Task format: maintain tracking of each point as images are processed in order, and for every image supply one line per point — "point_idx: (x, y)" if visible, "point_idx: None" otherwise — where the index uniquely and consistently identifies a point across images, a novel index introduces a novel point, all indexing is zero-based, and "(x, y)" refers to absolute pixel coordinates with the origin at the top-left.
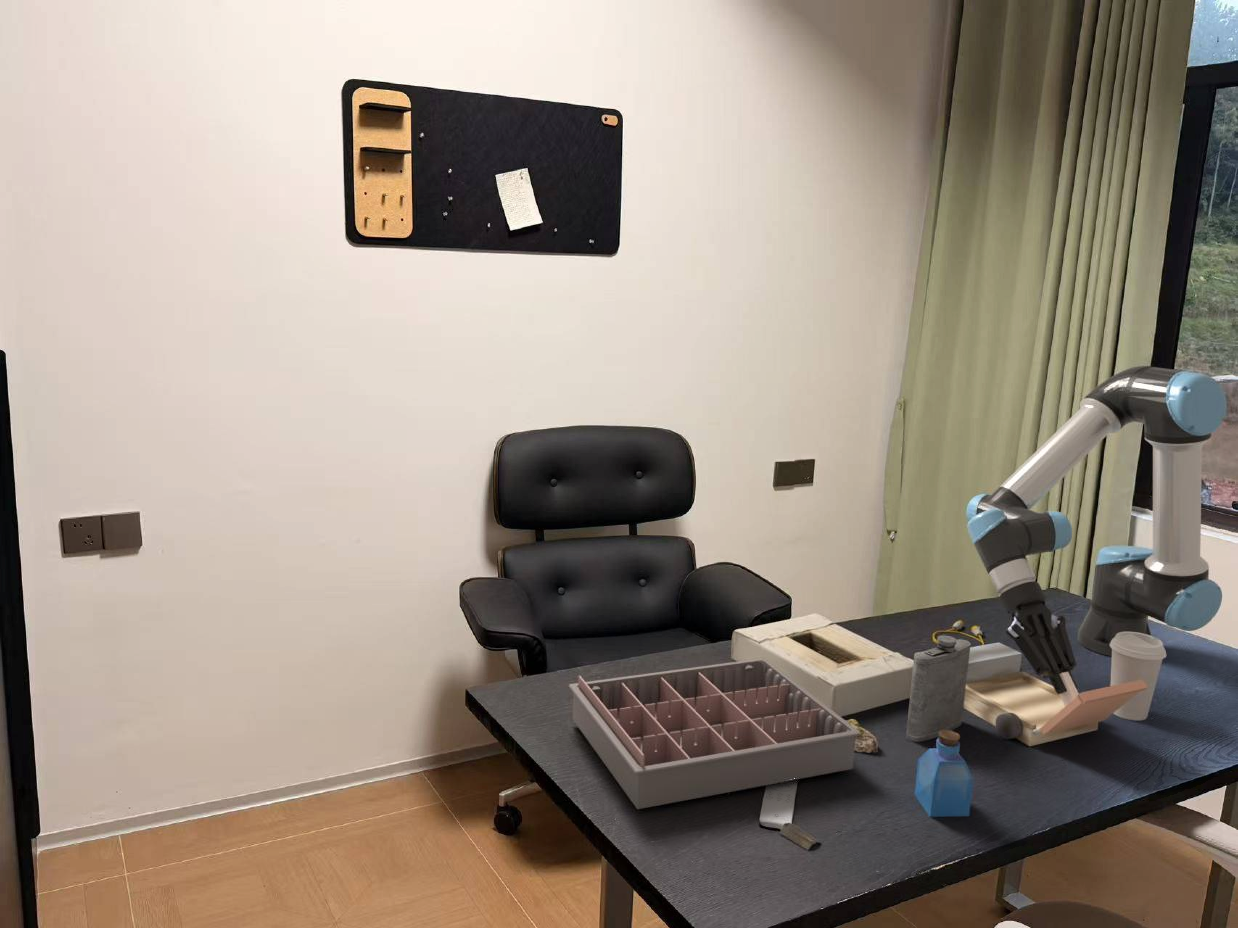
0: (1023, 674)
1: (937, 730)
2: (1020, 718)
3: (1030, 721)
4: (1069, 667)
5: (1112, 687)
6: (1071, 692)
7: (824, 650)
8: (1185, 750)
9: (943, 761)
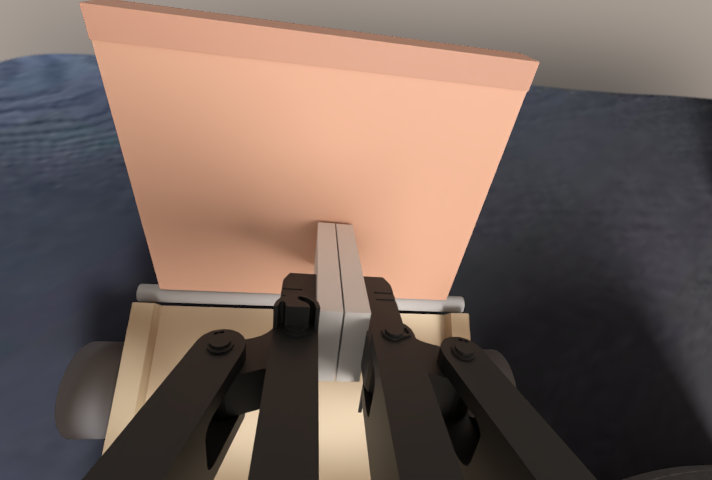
0: None
1: (674, 477)
2: None
3: (454, 336)
4: (309, 306)
5: (330, 34)
6: (355, 255)
7: None
8: (57, 128)
9: None
